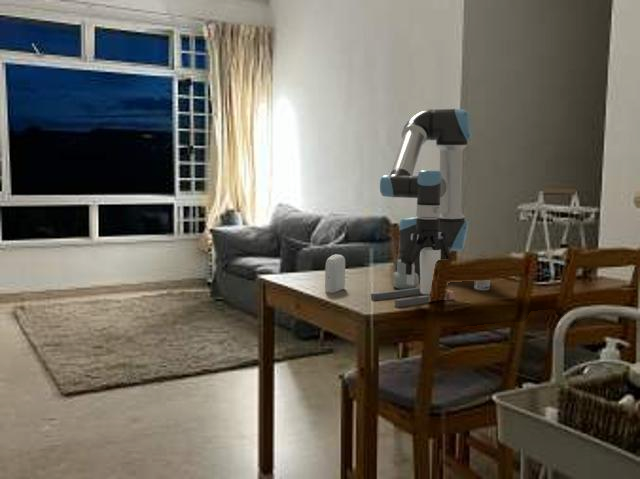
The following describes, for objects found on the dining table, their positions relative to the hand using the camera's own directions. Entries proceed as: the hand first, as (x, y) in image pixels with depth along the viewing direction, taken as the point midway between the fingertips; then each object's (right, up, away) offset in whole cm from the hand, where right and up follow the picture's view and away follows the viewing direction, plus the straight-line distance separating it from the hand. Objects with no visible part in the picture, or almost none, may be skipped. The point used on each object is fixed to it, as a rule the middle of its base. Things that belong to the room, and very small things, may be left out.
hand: (425, 282), depth 213 cm
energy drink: (+23, -4, +18) cm, 29 cm away
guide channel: (-5, -5, -3) cm, 7 cm away
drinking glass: (+1, -4, +2) cm, 4 cm away
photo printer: (-30, -3, +11) cm, 32 cm away
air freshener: (-5, -3, +17) cm, 18 cm away
